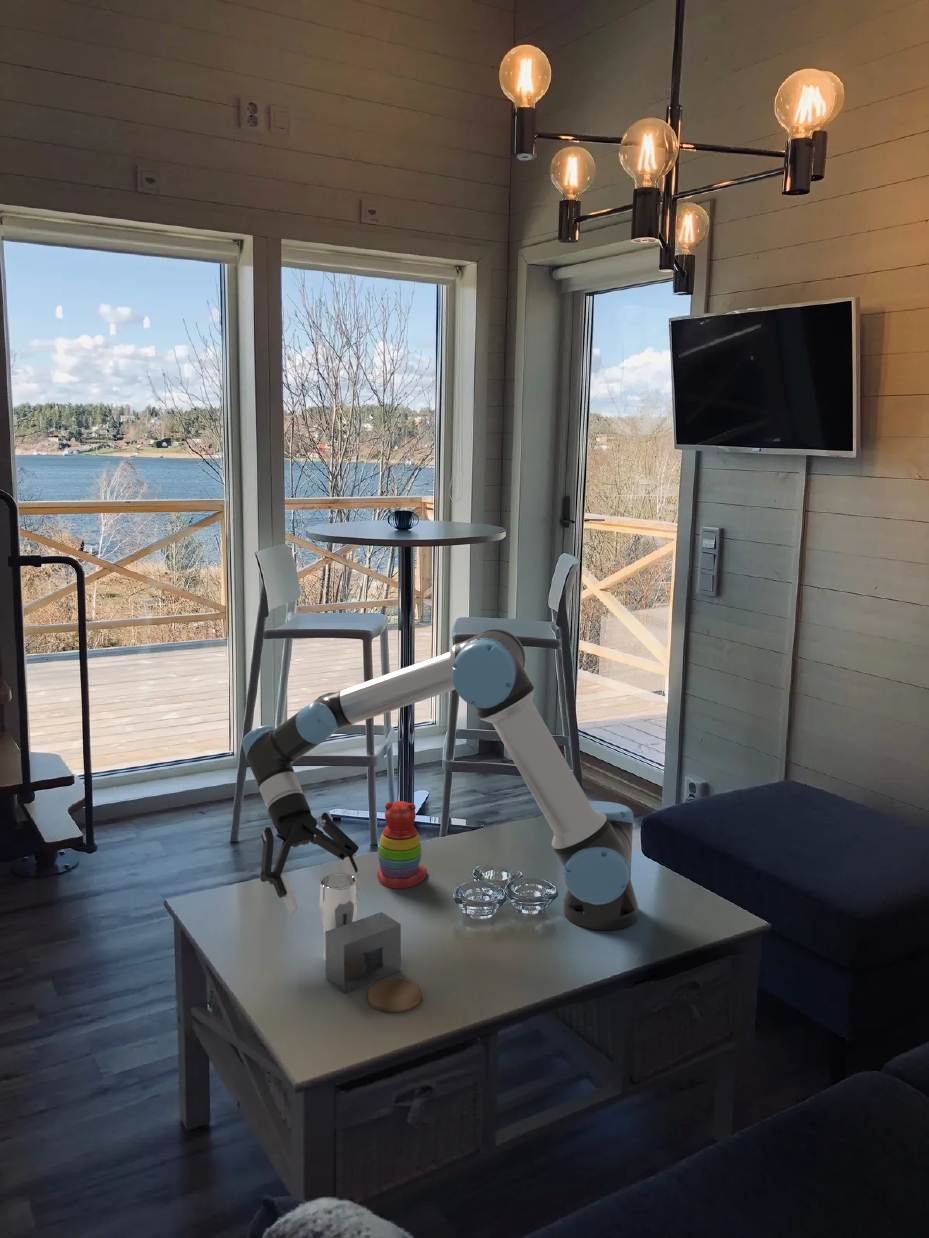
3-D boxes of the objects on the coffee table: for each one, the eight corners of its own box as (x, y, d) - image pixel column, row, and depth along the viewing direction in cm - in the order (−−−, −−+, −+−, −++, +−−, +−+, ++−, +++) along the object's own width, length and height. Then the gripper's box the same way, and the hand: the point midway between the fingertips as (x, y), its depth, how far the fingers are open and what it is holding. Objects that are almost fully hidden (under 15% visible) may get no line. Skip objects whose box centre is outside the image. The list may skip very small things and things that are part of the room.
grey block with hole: (326, 978, 172) (325, 931, 171) (381, 957, 180) (381, 911, 178) (344, 993, 168) (343, 944, 166) (400, 970, 175) (400, 924, 174)
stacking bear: (428, 871, 217) (429, 795, 214) (419, 891, 207) (420, 811, 204) (381, 867, 218) (381, 792, 215) (370, 887, 208) (370, 808, 205)
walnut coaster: (424, 984, 171) (424, 979, 170) (416, 1014, 162) (416, 1008, 162) (373, 981, 171) (373, 976, 171) (363, 1010, 163) (363, 1005, 162)
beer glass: (316, 950, 182) (315, 875, 179) (353, 944, 184) (352, 870, 182) (324, 969, 175) (323, 891, 173) (362, 962, 178) (361, 885, 175)
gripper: (333, 796, 199) (374, 890, 190) (219, 824, 183) (259, 928, 175) (346, 778, 194) (390, 874, 185) (231, 805, 178) (273, 912, 170)
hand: (326, 901), depth 180 cm, fingers open, 13 cm apart
